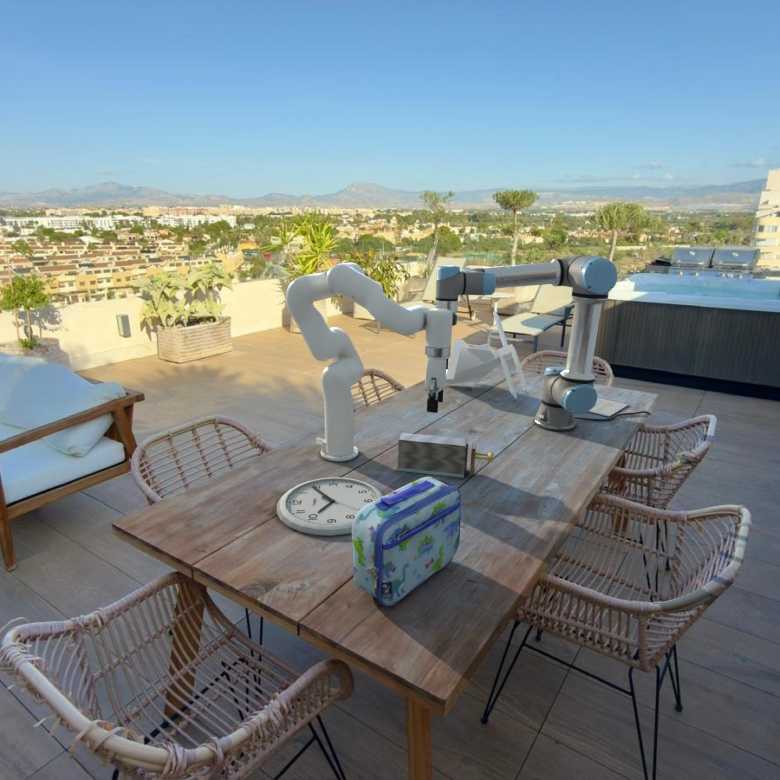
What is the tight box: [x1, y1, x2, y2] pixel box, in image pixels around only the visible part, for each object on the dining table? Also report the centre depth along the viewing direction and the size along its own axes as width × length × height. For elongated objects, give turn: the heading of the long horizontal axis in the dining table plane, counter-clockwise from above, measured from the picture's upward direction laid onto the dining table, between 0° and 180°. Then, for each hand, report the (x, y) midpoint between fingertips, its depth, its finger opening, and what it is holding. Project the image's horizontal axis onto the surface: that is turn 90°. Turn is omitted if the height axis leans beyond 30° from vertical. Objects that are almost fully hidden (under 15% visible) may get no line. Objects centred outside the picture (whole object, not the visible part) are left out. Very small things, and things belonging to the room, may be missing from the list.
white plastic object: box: [444, 310, 531, 400], centre depth 245 cm, size 37×45×31 cm
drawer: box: [464, 442, 494, 476], centre depth 162 cm, size 25×5×9 cm, turn 78°
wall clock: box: [276, 476, 385, 537], centre depth 142 cm, size 30×2×30 cm
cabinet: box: [397, 432, 468, 479], centre depth 163 cm, size 21×6×10 cm, turn 78°
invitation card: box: [587, 397, 629, 418], centre depth 226 cm, size 21×1×15 cm
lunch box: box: [351, 476, 462, 607], centre depth 111 cm, size 26×11×21 cm, turn 135°
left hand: (434, 406), depth 158 cm, fingers open, 9 cm apart
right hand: (442, 374), depth 181 cm, fingers open, 13 cm apart
